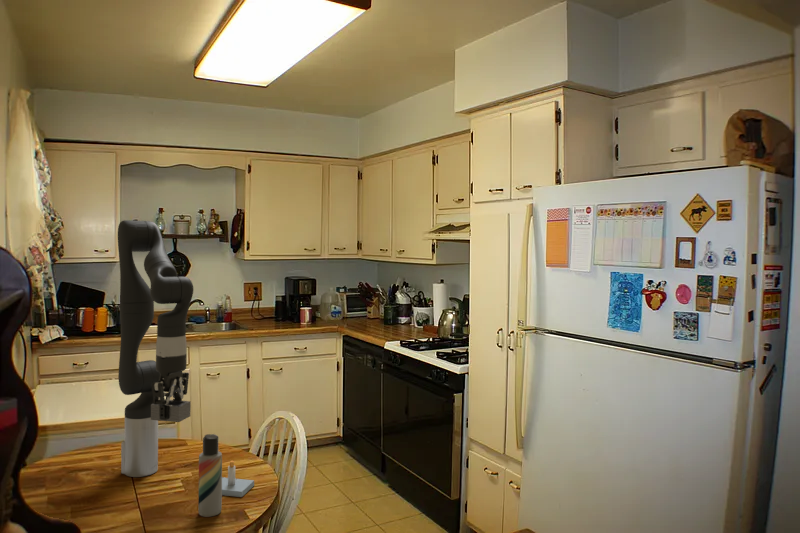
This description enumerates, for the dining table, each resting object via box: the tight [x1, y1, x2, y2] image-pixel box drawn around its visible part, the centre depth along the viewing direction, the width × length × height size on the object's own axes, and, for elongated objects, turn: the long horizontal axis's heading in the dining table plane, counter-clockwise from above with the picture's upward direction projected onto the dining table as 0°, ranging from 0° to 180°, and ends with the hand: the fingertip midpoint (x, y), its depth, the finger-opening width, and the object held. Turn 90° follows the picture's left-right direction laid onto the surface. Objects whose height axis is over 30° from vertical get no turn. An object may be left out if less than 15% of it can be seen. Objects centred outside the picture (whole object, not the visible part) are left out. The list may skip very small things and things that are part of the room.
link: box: [151, 399, 192, 423], centre depth 156 cm, size 8×6×4 cm
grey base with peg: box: [222, 460, 255, 498], centre depth 166 cm, size 10×8×8 cm
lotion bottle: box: [197, 433, 223, 518], centre depth 152 cm, size 6×6×20 cm
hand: (170, 415), depth 156 cm, fingers closed on link, 5 cm apart
